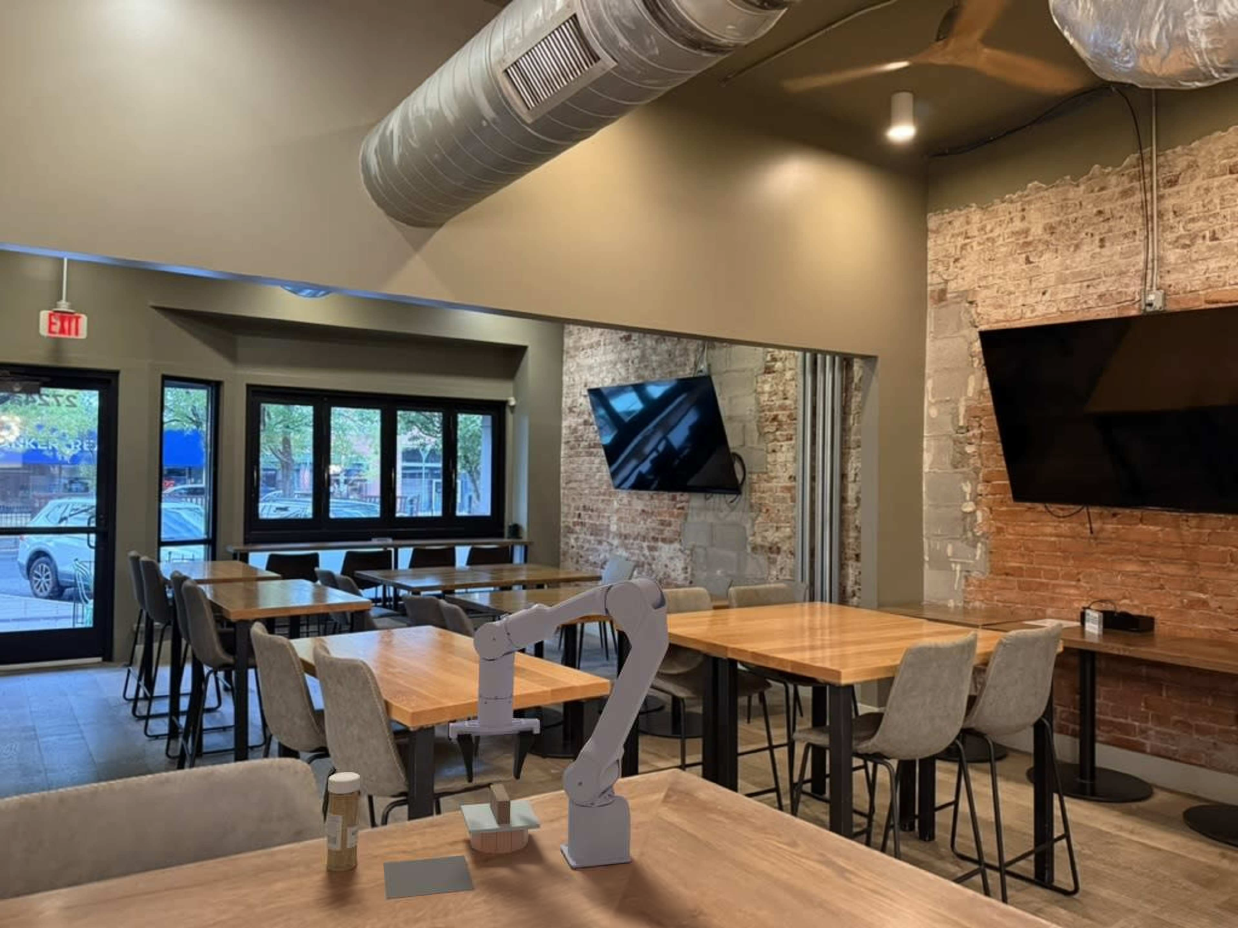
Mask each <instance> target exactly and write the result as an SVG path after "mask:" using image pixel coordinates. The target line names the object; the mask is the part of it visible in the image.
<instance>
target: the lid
mask: <svg viewBox="0 0 1238 928" xmlns="http://www.w3.org/2000/svg"><path fill="white" fill-rule="evenodd" d="M460 811H461V814H462V817H463V820H464V823H465V826H466V829H467V832H468V834H469V836H470V834H481V833H492V832H503V831H514V830H525V829H528V830H536V829H541V823H540V821H539V820H538V817H537V815H536V814H535V812H534V810H533V808H532V807H531V805H530V803H529V801H528V800H524V799H523V800H514V801H511V799H510V797H509V795H508V793H507V791H506V788H505V786H504V785H503V784H502V783H500V784H490V786H489V803H479V804H478V803H475V804H464V805H460Z"/></svg>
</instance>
